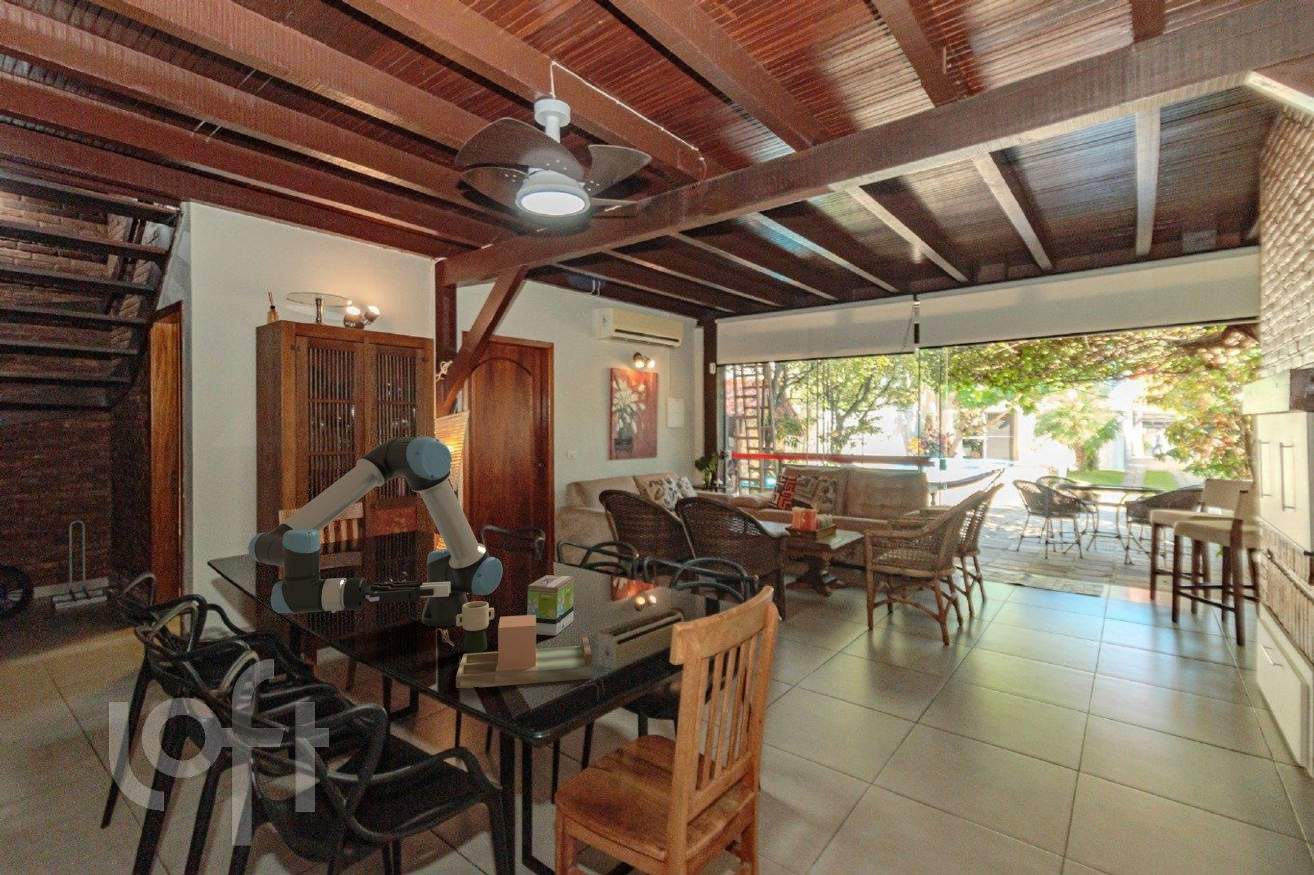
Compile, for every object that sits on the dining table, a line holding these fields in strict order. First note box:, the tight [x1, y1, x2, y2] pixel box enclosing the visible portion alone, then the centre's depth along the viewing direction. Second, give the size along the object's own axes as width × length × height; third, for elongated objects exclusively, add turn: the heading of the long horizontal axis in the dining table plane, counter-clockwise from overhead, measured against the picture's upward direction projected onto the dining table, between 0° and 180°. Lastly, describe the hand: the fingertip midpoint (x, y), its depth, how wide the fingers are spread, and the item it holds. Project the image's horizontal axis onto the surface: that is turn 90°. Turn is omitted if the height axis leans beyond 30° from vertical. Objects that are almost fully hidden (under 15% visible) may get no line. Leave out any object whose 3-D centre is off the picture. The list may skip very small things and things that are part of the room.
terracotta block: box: [497, 614, 537, 669], centre depth 153 cm, size 9×9×10 cm
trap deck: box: [455, 633, 593, 689], centre depth 153 cm, size 15×32×6 cm, turn 101°
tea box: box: [526, 574, 575, 636], centre depth 189 cm, size 15×10×15 cm
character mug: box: [455, 600, 495, 654], centre depth 168 cm, size 11×7×13 cm, turn 129°
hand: (449, 588), depth 150 cm, fingers open, 2 cm apart
